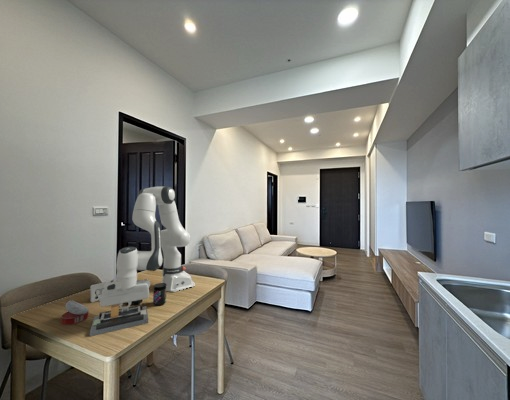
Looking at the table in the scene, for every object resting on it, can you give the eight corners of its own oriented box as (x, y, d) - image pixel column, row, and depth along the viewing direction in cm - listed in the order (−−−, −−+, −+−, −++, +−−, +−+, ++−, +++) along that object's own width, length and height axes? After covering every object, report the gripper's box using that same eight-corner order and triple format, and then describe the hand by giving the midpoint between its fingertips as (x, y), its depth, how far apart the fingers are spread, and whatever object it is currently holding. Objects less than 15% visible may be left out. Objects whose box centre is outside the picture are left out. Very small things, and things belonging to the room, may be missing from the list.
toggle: (118, 315, 101) (119, 303, 101) (118, 319, 98) (118, 306, 98) (111, 317, 100) (111, 304, 100) (110, 321, 96) (111, 307, 96)
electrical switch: (90, 303, 118) (91, 286, 119) (88, 301, 121) (88, 284, 122) (110, 298, 125) (110, 281, 126) (107, 296, 128) (107, 280, 129)
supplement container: (152, 302, 121) (153, 284, 121) (164, 300, 124) (165, 282, 124) (153, 307, 115) (154, 288, 115) (166, 304, 118) (167, 285, 119)
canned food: (75, 324, 105) (85, 302, 110) (88, 326, 102) (98, 303, 107) (50, 323, 96) (62, 299, 101) (63, 325, 93) (75, 300, 98)
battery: (132, 300, 122) (132, 283, 122) (142, 301, 121) (143, 284, 121) (126, 304, 118) (127, 286, 118) (137, 305, 117) (138, 287, 117)
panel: (146, 310, 112) (146, 301, 112) (148, 322, 100) (148, 313, 100) (94, 320, 100) (94, 311, 101) (89, 336, 88) (90, 325, 89)
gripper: (149, 276, 109) (148, 303, 109) (101, 283, 99) (99, 313, 98) (151, 280, 104) (149, 309, 103) (99, 287, 93) (98, 319, 93)
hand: (125, 311), depth 101 cm, fingers closed
